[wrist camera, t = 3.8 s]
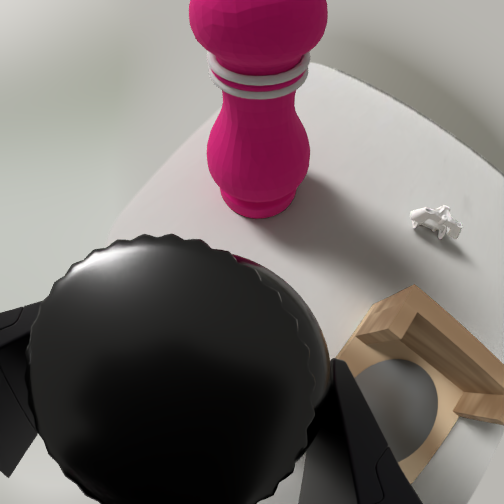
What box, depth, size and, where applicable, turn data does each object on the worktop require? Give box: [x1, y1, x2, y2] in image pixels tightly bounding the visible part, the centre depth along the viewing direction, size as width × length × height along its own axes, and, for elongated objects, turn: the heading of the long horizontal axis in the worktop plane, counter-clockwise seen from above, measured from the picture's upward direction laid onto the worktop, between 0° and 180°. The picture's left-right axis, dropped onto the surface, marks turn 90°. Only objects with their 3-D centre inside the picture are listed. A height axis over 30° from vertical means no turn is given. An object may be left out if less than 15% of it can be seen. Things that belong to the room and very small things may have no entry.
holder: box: [336, 284, 504, 484], centre depth 17 cm, size 11×12×7 cm
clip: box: [410, 205, 463, 240], centre depth 23 cm, size 5×2×4 cm, turn 69°
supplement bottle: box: [24, 234, 331, 504], centre depth 10 cm, size 7×7×12 cm
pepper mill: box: [189, 0, 328, 218], centre depth 16 cm, size 7×7×20 cm
